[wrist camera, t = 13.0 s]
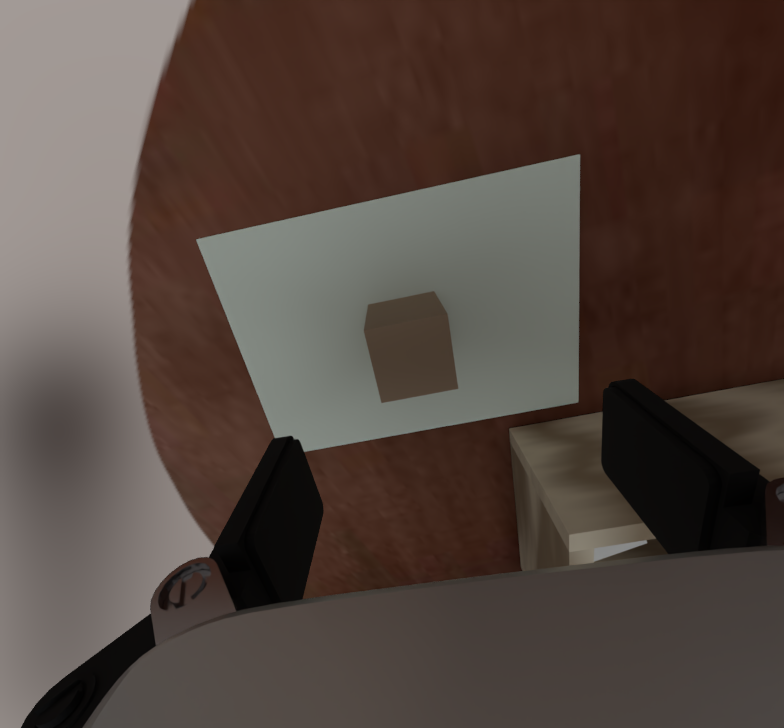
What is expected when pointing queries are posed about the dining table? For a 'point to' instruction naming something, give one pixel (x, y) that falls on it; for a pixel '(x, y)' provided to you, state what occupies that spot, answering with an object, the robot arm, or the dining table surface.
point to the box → (597, 492)
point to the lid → (410, 306)
